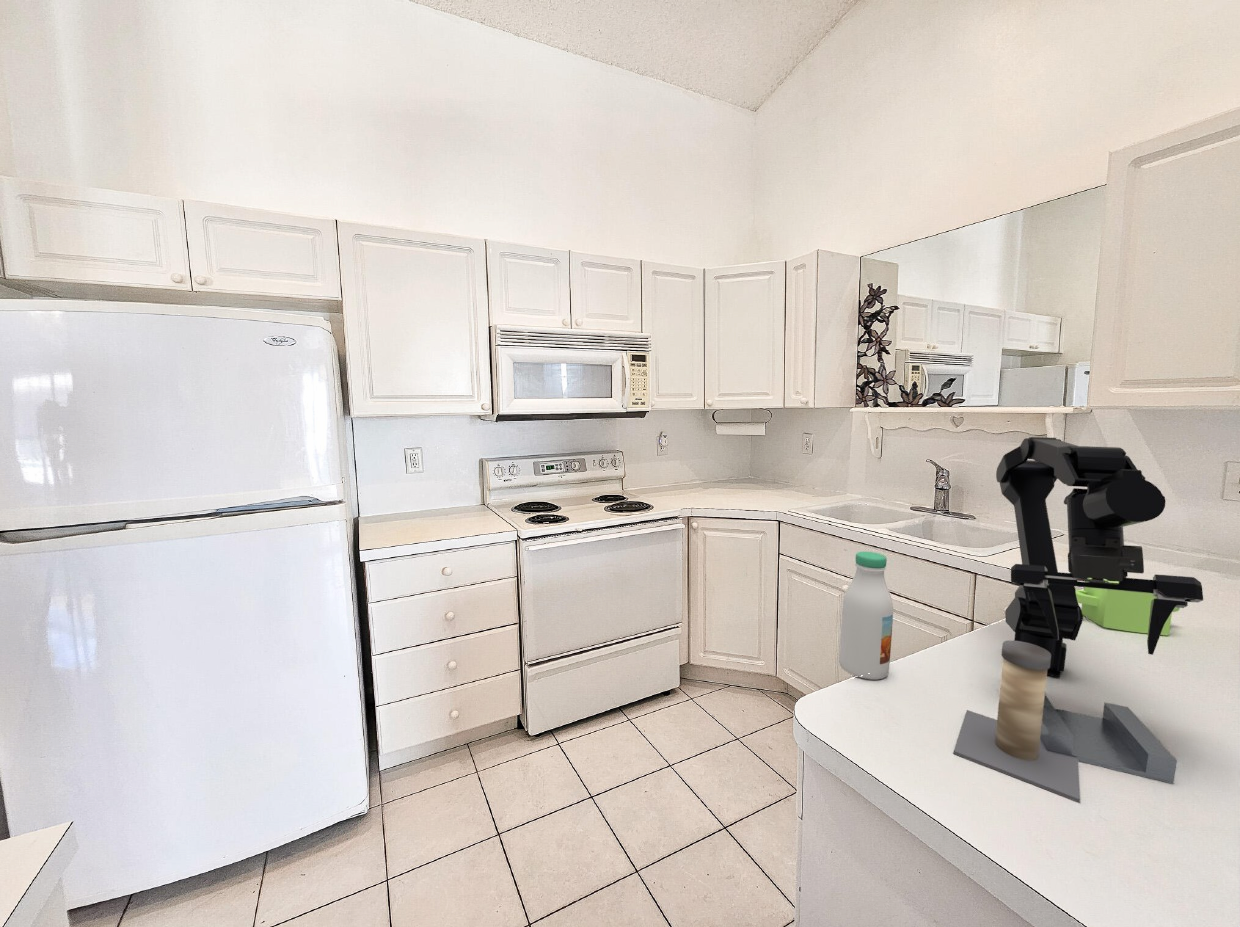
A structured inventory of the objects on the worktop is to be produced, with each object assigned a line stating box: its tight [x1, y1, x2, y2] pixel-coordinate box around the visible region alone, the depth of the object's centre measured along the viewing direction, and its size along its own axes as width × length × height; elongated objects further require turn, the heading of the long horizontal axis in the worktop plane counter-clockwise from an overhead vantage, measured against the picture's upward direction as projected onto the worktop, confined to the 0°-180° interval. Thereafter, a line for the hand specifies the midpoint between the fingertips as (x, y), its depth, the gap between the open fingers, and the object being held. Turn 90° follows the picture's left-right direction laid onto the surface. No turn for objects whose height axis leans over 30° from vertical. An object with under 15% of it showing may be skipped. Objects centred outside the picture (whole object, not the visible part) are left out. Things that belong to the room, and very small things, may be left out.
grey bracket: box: [1040, 694, 1178, 785], centre depth 68 cm, size 12×12×3 cm
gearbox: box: [1076, 578, 1181, 636], centre depth 106 cm, size 18×10×10 cm, turn 73°
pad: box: [953, 709, 1081, 803], centre depth 65 cm, size 12×12×1 cm
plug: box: [995, 639, 1051, 760], centre depth 64 cm, size 5×5×14 cm
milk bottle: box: [838, 551, 894, 681], centre depth 85 cm, size 8×8×20 cm
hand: (1101, 646), depth 68 cm, fingers open, 9 cm apart
